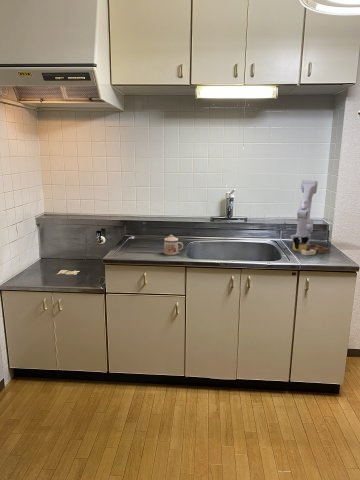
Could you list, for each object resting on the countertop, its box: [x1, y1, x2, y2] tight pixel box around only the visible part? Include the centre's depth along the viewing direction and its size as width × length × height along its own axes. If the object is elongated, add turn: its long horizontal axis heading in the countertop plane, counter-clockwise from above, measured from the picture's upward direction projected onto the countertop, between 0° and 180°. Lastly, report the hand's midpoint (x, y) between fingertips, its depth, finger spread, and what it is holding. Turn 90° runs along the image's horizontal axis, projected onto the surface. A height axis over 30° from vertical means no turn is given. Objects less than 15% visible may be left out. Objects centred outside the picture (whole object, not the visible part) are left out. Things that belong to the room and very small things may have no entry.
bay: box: [300, 249, 317, 256], centre depth 231 cm, size 4×8×2 cm, turn 111°
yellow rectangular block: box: [292, 241, 307, 253], centre depth 238 cm, size 9×4×5 cm, turn 21°
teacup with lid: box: [163, 234, 184, 256], centre depth 227 cm, size 12×9×12 cm
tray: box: [306, 243, 330, 254], centre depth 239 cm, size 13×9×2 cm
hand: (299, 248), depth 238 cm, fingers closed on yellow rectangular block, 4 cm apart
